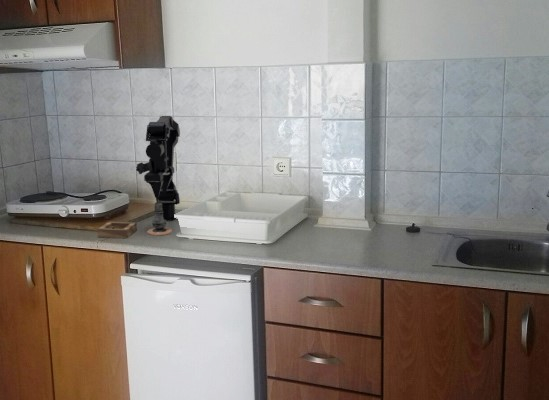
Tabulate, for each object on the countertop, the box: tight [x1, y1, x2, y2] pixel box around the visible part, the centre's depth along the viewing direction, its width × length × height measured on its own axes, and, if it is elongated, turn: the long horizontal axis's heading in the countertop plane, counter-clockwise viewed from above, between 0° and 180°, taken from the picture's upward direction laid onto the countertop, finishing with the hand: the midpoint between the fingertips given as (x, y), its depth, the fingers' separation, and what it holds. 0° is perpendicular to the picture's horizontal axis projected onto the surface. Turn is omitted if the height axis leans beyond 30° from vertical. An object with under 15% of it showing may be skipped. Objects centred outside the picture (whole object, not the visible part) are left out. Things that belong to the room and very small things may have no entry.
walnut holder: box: [96, 221, 138, 239], centre depth 231 cm, size 11×11×3 cm
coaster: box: [147, 227, 173, 236], centre depth 233 cm, size 9×9×1 cm
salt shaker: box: [150, 200, 168, 232], centre depth 232 cm, size 6×6×12 cm
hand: (160, 195), depth 237 cm, fingers open, 9 cm apart
